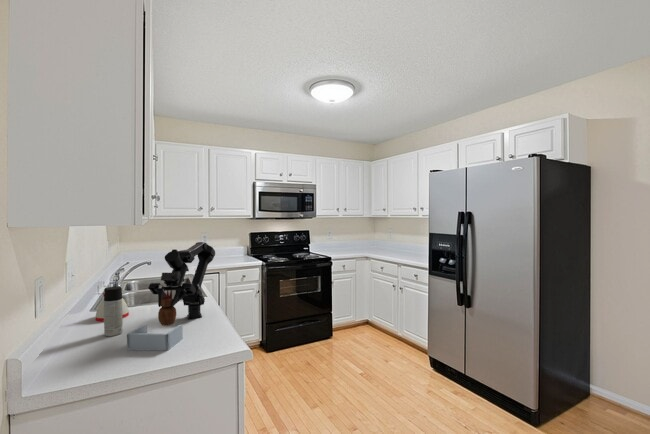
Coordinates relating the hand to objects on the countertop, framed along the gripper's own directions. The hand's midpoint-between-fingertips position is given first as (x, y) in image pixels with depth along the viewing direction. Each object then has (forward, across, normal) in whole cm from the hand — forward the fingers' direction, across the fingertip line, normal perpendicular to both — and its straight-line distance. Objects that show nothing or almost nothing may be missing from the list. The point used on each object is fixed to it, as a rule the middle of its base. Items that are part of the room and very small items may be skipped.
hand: (165, 306), depth 133 cm
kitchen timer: (-8, -42, +28) cm, 51 cm away
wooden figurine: (+5, 0, +7) cm, 8 cm away
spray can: (+7, -25, +12) cm, 29 cm away
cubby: (+14, 0, +4) cm, 14 cm away
